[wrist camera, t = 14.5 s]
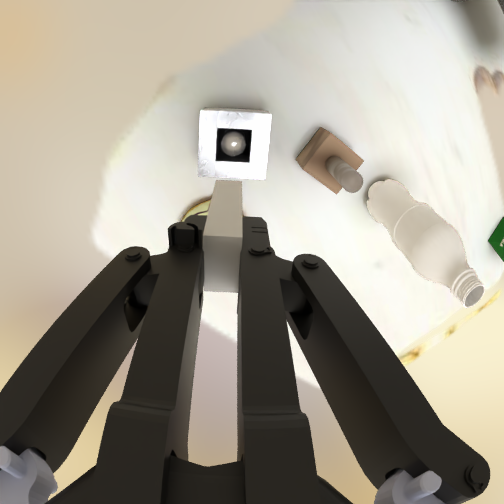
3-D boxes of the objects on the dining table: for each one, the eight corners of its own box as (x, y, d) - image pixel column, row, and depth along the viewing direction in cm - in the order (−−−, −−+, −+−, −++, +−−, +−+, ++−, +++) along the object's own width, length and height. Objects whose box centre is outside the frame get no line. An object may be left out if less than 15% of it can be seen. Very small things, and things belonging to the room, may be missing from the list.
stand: (320, 127, 37) (350, 144, 27) (351, 151, 39) (387, 177, 29) (295, 159, 40) (315, 187, 29) (326, 182, 42) (354, 217, 31)
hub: (228, 106, 35) (225, 110, 30) (265, 129, 37) (269, 137, 32) (204, 142, 38) (197, 152, 32) (240, 164, 40) (240, 177, 34)
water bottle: (365, 172, 41) (465, 267, 20) (403, 176, 41) (508, 264, 20) (358, 215, 45) (436, 327, 23) (395, 216, 45) (480, 318, 24)
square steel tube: (203, 165, 38) (198, 176, 33) (205, 107, 33) (200, 110, 29) (262, 168, 38) (265, 180, 34) (268, 110, 34) (271, 114, 30)
